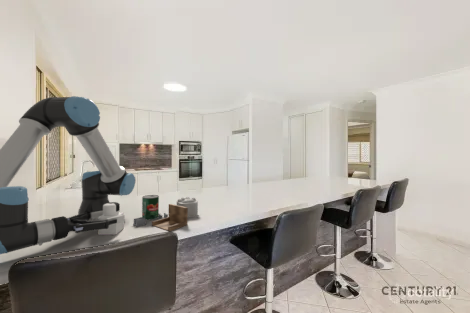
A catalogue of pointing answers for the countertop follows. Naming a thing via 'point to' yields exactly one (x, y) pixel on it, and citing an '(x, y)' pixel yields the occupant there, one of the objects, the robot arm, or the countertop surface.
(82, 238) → the countertop surface
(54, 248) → the countertop surface
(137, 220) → the clip
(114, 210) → the medicine bottle
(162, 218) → the clip
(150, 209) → the canned tomato
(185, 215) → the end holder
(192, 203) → the lumpy-topped squat cylinder
